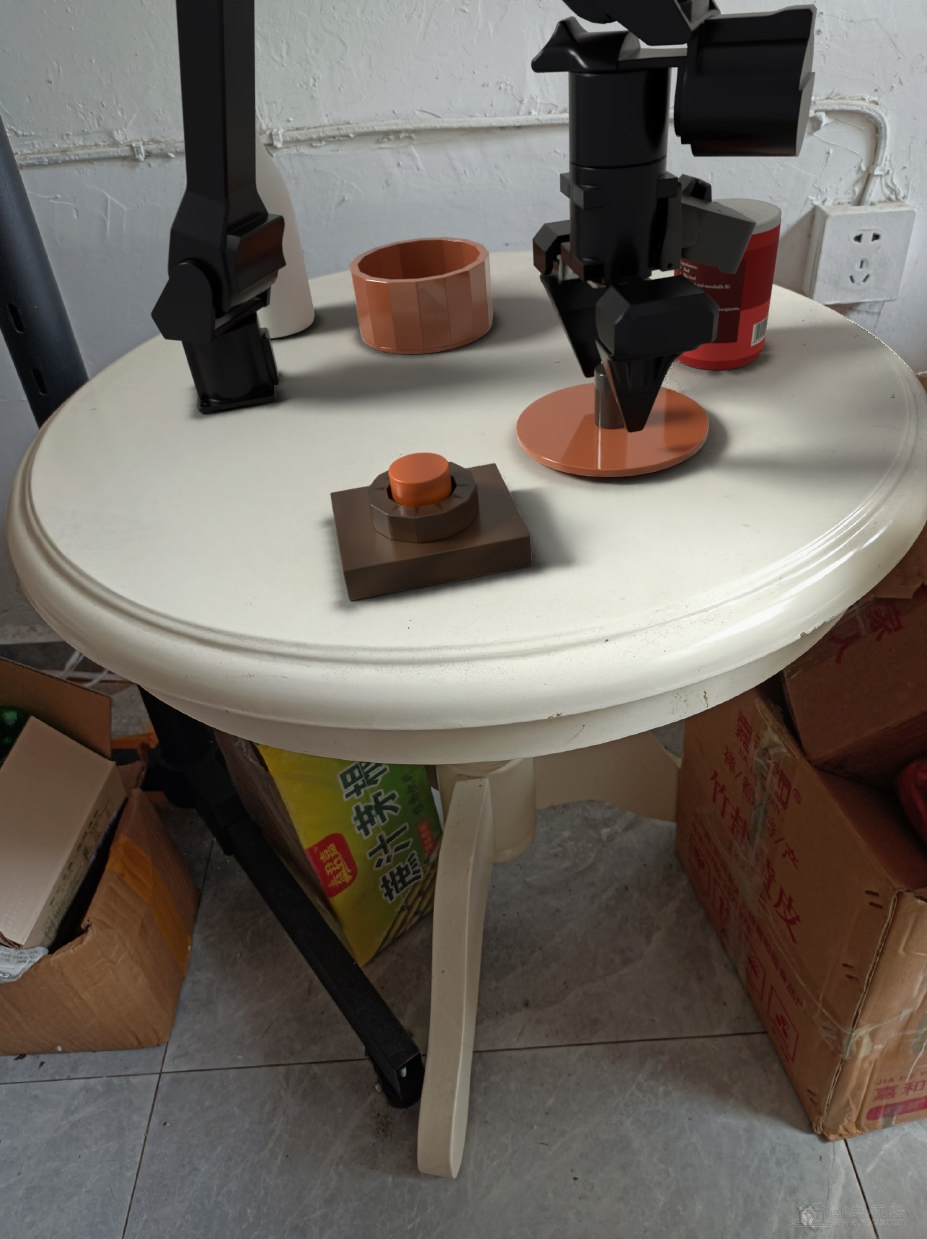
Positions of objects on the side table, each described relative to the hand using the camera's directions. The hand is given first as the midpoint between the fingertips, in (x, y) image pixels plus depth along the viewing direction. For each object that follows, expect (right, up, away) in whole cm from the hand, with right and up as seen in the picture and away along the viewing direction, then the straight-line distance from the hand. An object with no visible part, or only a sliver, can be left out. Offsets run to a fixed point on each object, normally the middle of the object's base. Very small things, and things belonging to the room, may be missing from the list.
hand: (612, 402), depth 61 cm
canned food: (+11, +7, +12) cm, 17 cm away
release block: (-13, -10, -7) cm, 18 cm away
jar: (-14, +13, +22) cm, 29 cm away
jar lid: (0, -2, +1) cm, 2 cm away
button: (-13, -8, -9) cm, 18 cm away
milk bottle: (-29, +14, +26) cm, 41 cm away
